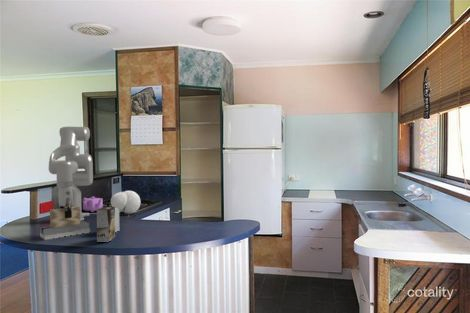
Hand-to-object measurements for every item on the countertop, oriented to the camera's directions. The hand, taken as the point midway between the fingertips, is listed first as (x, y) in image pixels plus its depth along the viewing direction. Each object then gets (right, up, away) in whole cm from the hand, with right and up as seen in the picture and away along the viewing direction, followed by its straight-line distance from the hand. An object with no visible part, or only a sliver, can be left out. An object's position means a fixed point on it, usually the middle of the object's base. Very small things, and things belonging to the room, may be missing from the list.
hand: (65, 216), depth 178 cm
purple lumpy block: (-14, -9, +68) cm, 70 cm away
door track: (0, -10, 0) cm, 10 cm away
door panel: (0, -8, 0) cm, 8 cm away
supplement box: (+22, -10, +4) cm, 25 cm away
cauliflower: (+14, -9, +56) cm, 58 cm away
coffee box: (+27, -10, -13) cm, 31 cm away
